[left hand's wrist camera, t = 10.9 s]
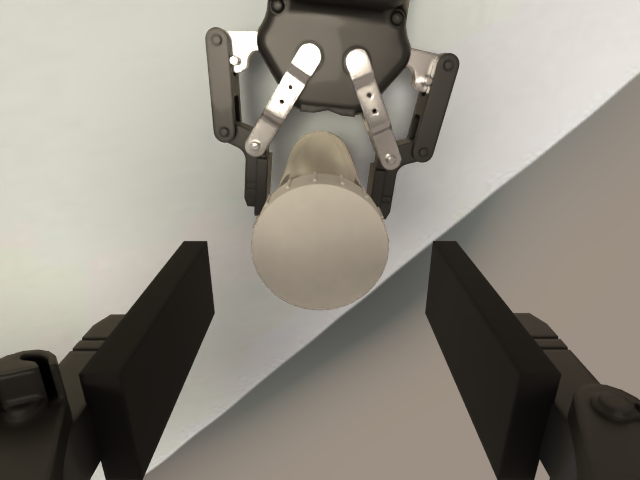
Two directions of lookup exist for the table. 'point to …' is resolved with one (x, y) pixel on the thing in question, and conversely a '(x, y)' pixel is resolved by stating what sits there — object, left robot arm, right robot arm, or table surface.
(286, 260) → the lid
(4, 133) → the table surface
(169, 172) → the table surface
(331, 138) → the beige bottle
